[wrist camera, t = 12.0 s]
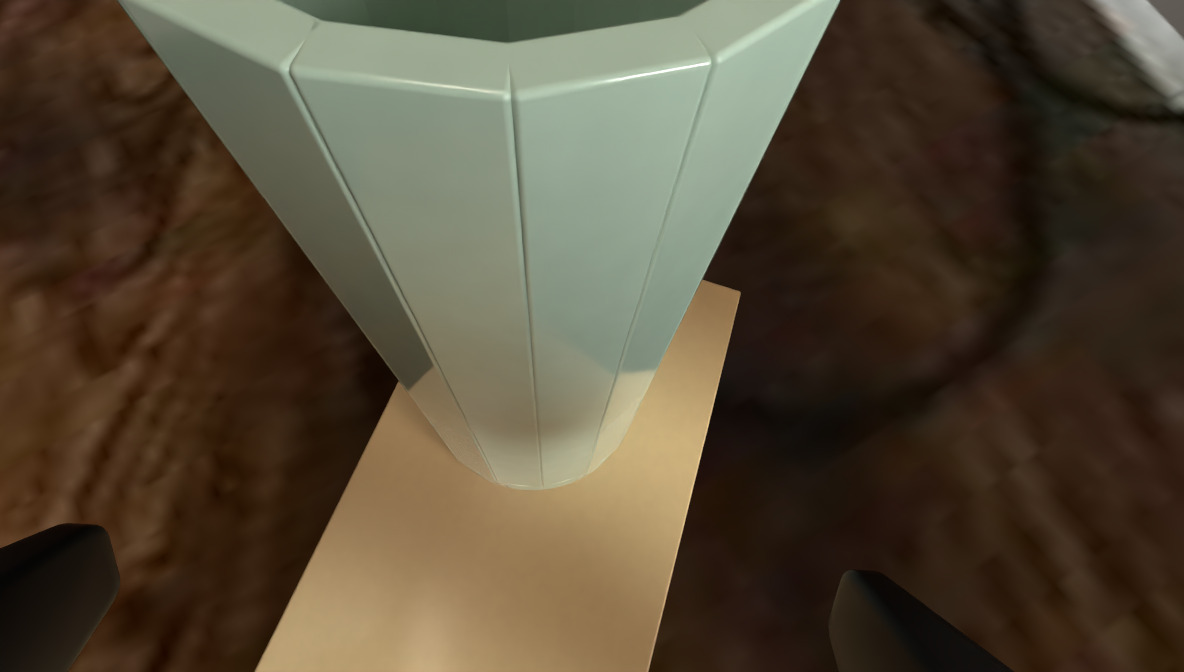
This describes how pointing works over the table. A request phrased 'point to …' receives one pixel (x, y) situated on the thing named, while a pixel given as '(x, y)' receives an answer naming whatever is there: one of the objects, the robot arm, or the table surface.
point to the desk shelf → (509, 542)
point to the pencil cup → (501, 184)
